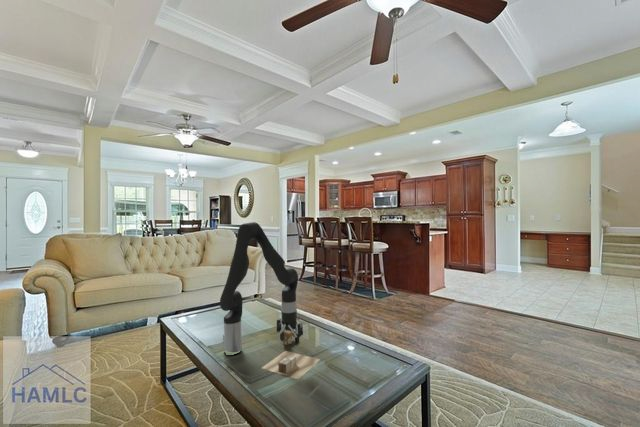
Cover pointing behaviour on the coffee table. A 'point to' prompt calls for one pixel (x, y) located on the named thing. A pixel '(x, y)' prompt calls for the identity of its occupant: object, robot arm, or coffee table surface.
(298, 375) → the wooden board
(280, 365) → the white block
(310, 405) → the coffee table surface
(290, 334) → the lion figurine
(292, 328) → the robot arm
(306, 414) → the coffee table surface
